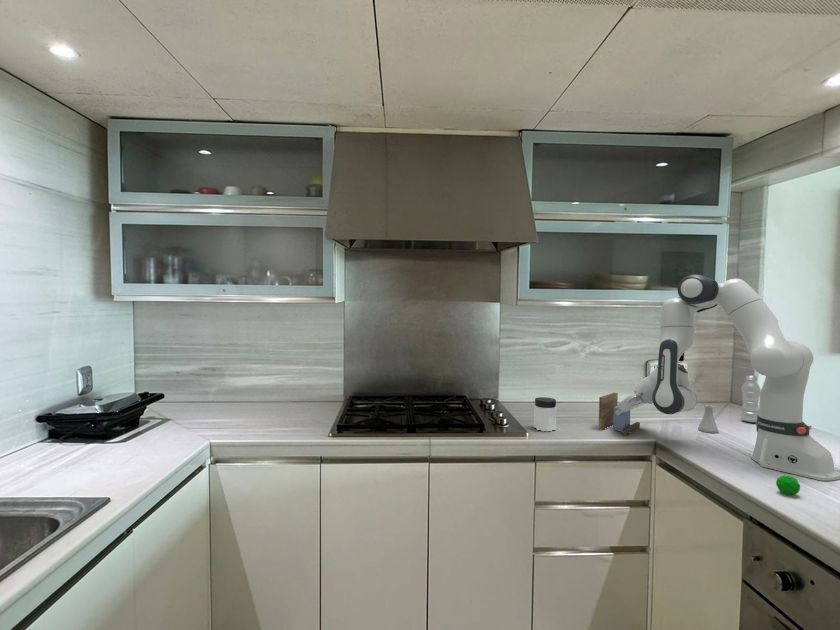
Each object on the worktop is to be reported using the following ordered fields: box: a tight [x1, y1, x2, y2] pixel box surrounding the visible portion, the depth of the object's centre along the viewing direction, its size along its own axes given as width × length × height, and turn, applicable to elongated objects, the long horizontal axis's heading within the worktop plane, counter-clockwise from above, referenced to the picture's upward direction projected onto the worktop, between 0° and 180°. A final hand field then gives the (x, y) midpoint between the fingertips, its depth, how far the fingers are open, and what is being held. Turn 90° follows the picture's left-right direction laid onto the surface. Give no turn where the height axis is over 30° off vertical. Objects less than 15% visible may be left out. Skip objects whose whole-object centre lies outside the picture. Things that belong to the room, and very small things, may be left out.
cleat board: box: [598, 392, 641, 436], centre depth 183 cm, size 11×14×13 cm
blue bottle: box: [612, 406, 631, 432], centre depth 183 cm, size 4×5×10 cm
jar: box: [533, 396, 558, 432], centre depth 182 cm, size 9×8×12 cm
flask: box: [697, 404, 719, 434], centre depth 182 cm, size 7×7×10 cm
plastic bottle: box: [740, 374, 761, 423], centre depth 196 cm, size 6×7×20 cm
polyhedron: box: [775, 475, 801, 496], centre depth 123 cm, size 5×5×5 cm
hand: (620, 412), depth 183 cm, fingers open, 5 cm apart
